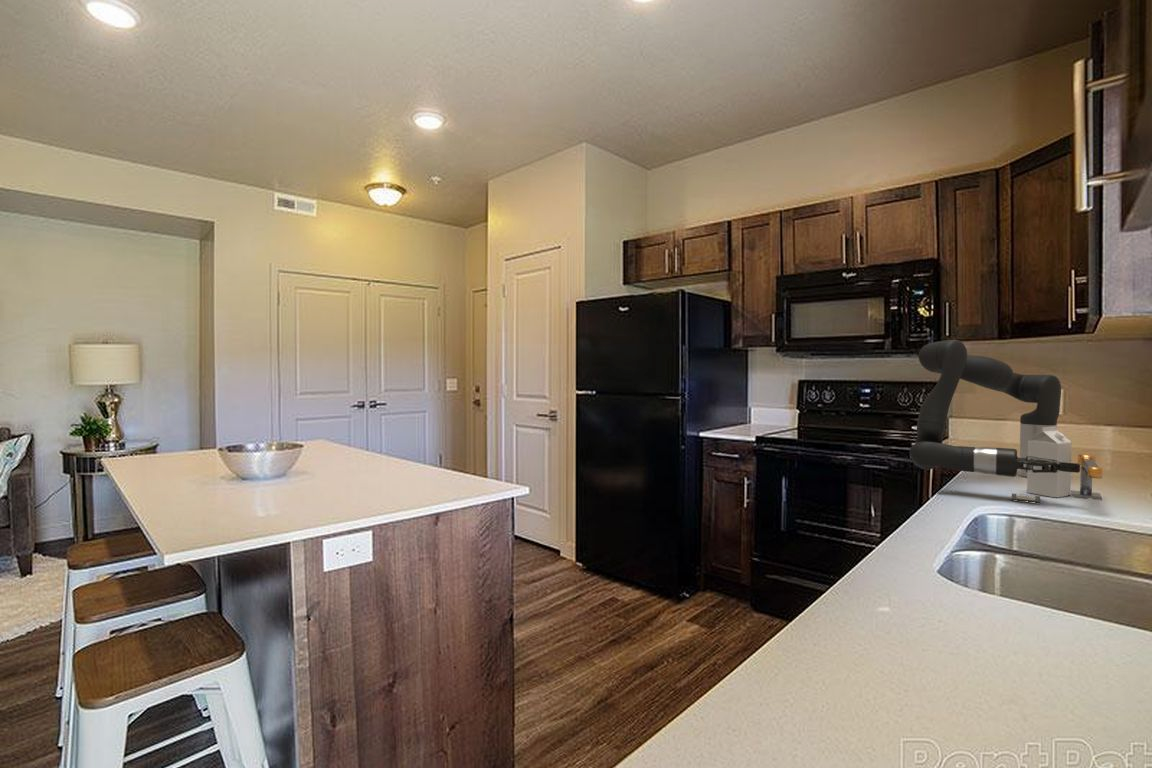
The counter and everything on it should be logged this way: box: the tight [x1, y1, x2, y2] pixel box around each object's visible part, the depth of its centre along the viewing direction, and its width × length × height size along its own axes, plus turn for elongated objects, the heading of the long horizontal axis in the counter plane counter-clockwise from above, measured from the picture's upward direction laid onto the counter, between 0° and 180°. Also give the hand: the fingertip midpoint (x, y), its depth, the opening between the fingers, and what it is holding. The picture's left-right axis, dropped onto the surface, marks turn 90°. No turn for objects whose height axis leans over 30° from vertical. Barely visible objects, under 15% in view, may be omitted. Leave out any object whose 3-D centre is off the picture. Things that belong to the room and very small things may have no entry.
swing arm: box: [1077, 453, 1103, 479], centre depth 146 cm, size 26×4×3 cm, turn 141°
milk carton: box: [1026, 425, 1072, 498], centre depth 158 cm, size 7×7×19 cm
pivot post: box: [1070, 466, 1103, 501], centre depth 155 cm, size 6×6×8 cm
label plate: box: [1011, 492, 1041, 504], centre depth 152 cm, size 8×6×1 cm
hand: (1079, 468), depth 143 cm, fingers closed
